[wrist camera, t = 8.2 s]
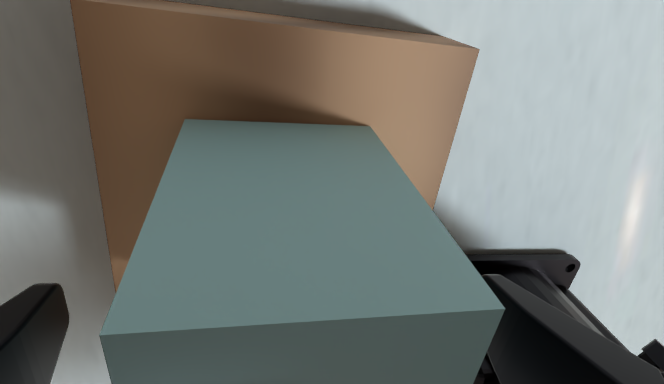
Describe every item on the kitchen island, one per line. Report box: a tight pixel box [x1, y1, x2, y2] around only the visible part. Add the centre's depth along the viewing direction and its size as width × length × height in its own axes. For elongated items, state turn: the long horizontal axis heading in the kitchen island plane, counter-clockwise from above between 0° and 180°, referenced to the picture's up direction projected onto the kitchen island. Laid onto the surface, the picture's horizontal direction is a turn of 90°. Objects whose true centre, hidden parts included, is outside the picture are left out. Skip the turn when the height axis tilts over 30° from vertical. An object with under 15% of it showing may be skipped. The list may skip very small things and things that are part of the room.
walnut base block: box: [70, 0, 479, 293], centre depth 13 cm, size 10×10×3 cm
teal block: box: [99, 119, 505, 384], centre depth 9 cm, size 5×5×7 cm
